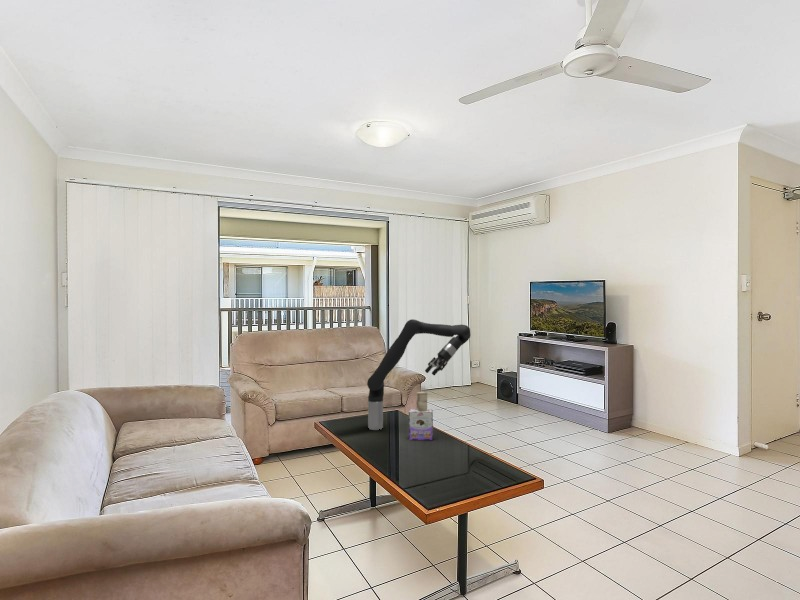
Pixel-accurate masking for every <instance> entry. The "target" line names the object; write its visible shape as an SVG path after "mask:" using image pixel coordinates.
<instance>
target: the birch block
mask: <svg viewBox="0 0 800 600" xmlns="http://www.w3.org/2000/svg"><path fill="white" fill-rule="evenodd" d="M416 409H417V410H418V411H427V410H428V393H427V392H425V391H418V392H416Z"/></svg>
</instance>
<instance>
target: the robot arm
mask: <svg viewBox="0 0 800 600" xmlns="http://www.w3.org/2000/svg"><path fill="white" fill-rule="evenodd" d="M420 334H422V335H423V334H425V335H427V334H428V335H435V336H440V337H449V338H450V340H449V341H448V342H447V343H446V344H445V345H444V346H443V347H442V348H441V350H439V352H438V353H437V357H433V358H431V360H430V361H429V362H428V363H427V367H426V368H425V370H424V372H425V373H426V374H428V373H429V372H430V371H431V370H432V369H433V368H434V369H433V371H432V372H431V374H432V375H433V376H436V374H438V372H440V371H443V370H444V369H445V368H446V366H447V365H448V362H449V361H450V360H452V358H453V357H454V355H455V354H456V352H458V350H459V349H460V347H461V346H463V345H464V344H465V343H467V342H468V341H469V340H470V338H471V328H470V327H469V326H468V325H466V324H454V325H451V324H450V325H449V324H436V323H427V322H423V321H419V320H417V319H413V318H411V319H409V320H407V321H406V322H405V324H404V326H403V328H402V330H401V332H400V334H399V335H398V337H397V338H396V339H395V340H394V341H393V343H392V344H391V345H390V347H389V348H388V350H387V351H386V353H385V354H384V357H383V358H382V359H381V362H380V364H379V366H378V367H377V368H376V369H375V370H374V372H373V373H372V375H371V376H370V377H369V378H368V379H367V382H366V385H367V388H368V389H369V392H368V396H367V397H368V399H367V403H368V404H367V405H368V407H367V409H368V411H367V416H368V417H367V427H368V428H369V430H371V431H380V430H383V429H384V393H385V392H384V390H385V382H384V381H385V380H386V377H387V376H388V374H389V373H390V372H391V371H392V370H393V369H394V368H395V367H396V366H397V365H398V363H399V362H400V360H401V359H402V357H403V355H404V354H405V352H406V350H407V346H408V344H409V343H410V341H411V340H412V339H413V337H414V336H415V335H420ZM382 428H383V429H382ZM379 429H380V430H379Z"/></svg>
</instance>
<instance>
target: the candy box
mask: <svg viewBox="0 0 800 600" xmlns="http://www.w3.org/2000/svg"><path fill="white" fill-rule="evenodd" d="M433 417H434V415H433V409H427V411H418V410H417V408H416V409H414V408H413V409H411V408H410V409H409V411H408V440H409V441H413V440H414V441H417V440H418V441H433V438H434V419H433Z"/></svg>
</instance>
